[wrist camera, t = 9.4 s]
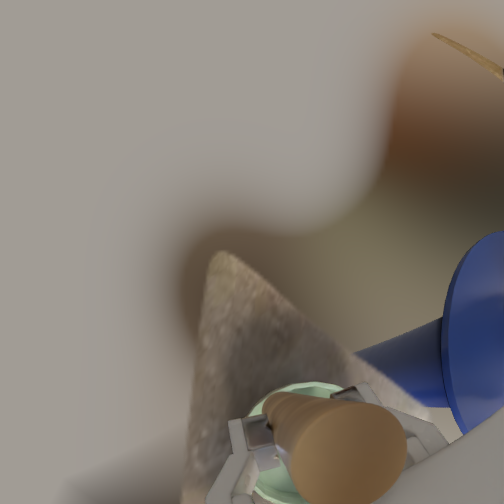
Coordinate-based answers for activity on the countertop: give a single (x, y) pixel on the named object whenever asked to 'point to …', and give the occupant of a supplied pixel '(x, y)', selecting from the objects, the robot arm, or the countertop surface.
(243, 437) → the robot arm
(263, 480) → the bowl
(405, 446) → the wooden cylinder
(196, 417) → the countertop surface
